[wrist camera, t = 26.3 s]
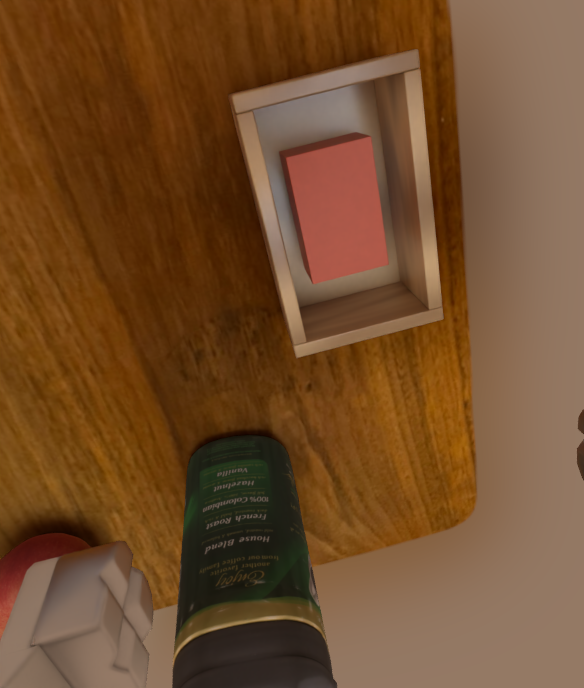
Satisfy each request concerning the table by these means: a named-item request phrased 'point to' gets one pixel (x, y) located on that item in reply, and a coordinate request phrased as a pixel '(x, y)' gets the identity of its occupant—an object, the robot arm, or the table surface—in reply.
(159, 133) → the table surface
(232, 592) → the coffee jar
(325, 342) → the holder
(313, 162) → the red rectangular block
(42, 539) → the apple
